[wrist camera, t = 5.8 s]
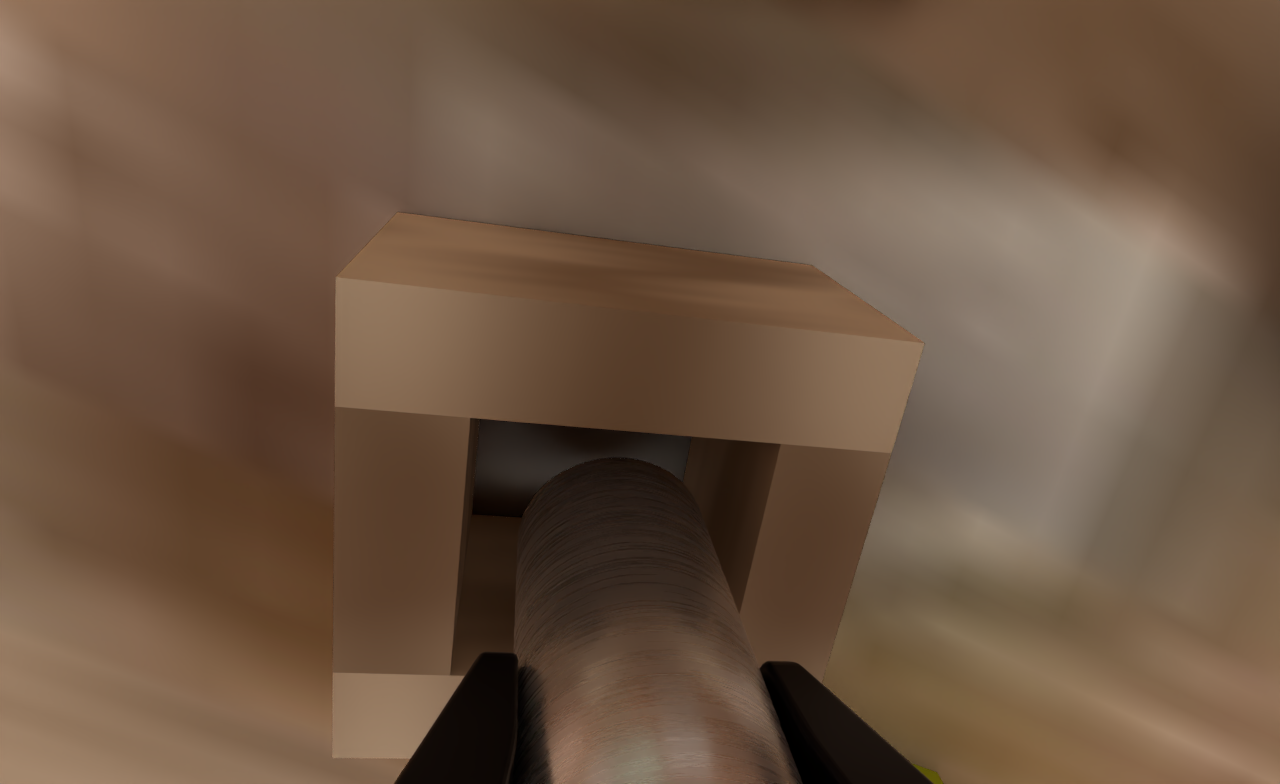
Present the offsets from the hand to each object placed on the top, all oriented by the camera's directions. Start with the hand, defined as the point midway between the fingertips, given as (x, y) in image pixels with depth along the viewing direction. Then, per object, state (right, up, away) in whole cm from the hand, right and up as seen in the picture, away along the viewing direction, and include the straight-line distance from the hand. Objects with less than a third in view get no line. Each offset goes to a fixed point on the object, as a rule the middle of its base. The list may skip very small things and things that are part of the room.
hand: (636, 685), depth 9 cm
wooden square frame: (-1, +3, +6) cm, 7 cm away
